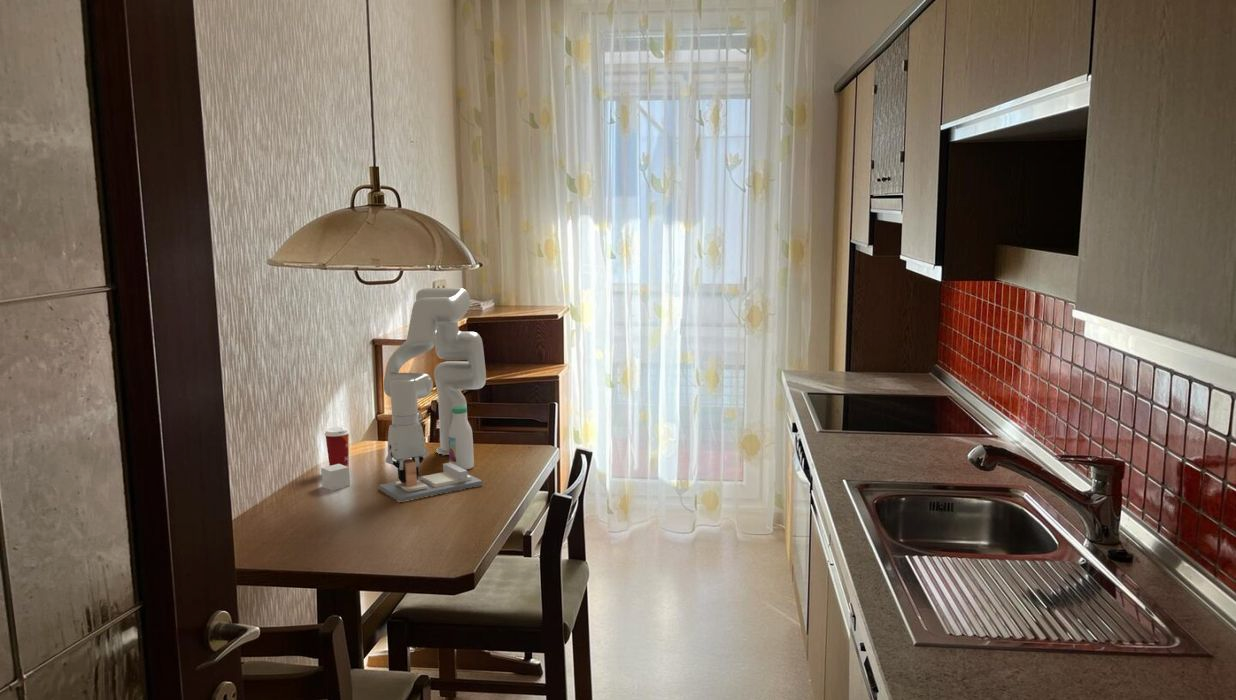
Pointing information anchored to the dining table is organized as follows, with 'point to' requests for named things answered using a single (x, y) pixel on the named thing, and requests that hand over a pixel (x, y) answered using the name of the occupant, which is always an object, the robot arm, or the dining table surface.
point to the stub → (411, 477)
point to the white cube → (335, 477)
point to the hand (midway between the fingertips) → (408, 480)
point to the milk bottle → (461, 439)
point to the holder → (435, 483)
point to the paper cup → (338, 445)
